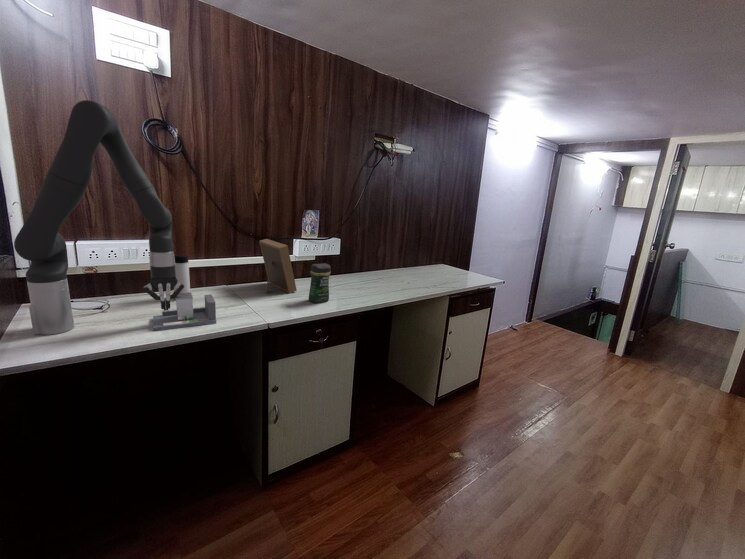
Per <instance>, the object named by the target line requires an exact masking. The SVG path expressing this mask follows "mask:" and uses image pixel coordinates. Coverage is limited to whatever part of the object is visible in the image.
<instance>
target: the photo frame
mask: <svg viewBox="0 0 745 559" xmlns="http://www.w3.org/2000/svg"><path fill="white" fill-rule="evenodd" d="M258 241H259V242H258V243H259V246H260V251H261V255H262V259H263V263H264V266H265V271H266V275H267V282H266V288H265V294H267V293H268V289H269V284H270V285H271V286H274V287H276V288H278V289H280V290H282V291H284V292H286V293H288V294H291V293H294V292H296V291H297V285H296V282H295V281H296V280H295V275H294V271H293V266H292V261H291V256H290V251H289V245H287V244H285V243H281V242H277V241H275V240H271V239H269V238H264V239H261V240H258Z"/></svg>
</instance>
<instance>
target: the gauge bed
mask: <svg viewBox="0 0 745 559" xmlns="http://www.w3.org/2000/svg"><path fill="white" fill-rule="evenodd" d="M161 313H162V314H159V315H153V316H152V331H153V332H157V331H165V330H175V329H181V328H189V327H190V326H191V327H196V326H197V327H198V326H205V325H214V323H215V324H217V318H216V315H217V311H216V300H215V299H214V297H213V295H212V294H204V307H193V319H188V320H187V321H185V320H179V321H178V317H177V309H173V310H171V309H170V310H166V311H164V310H163V311H161Z"/></svg>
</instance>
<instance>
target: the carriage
mask: <svg viewBox="0 0 745 559" xmlns="http://www.w3.org/2000/svg"><path fill="white" fill-rule="evenodd" d="M175 300H176V301H175V304H176V305H175V306H176V310H177V317H178V321H179V320H185V321H187V320H188V319H193V308H194V304H193V300H194V297H193V294H192V292H191V291H190V293H179V294H178V295H177V297H176V299H175Z"/></svg>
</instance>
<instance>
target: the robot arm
mask: <svg viewBox="0 0 745 559" xmlns="http://www.w3.org/2000/svg"><path fill="white" fill-rule="evenodd" d="M123 134H124V133H123V132H122V130H121V127H120V125H119V123H118V120H117V118H116V116H115V114H114V112H112V111H111V110H110V109H109V108H108V107H106V106H104V105H103V104H101V103H99V102H96V101H94V100H90V99H87V100H81V101H78V102H76V103H75V104H74V105H73V107H72V109H71V112H70V115H69V119H68V122H67V126H66V129H65V134H64V136H63V139H62V142H61V144H60V145H59V147H58V150H57V152H56V154H55V156H54V158H53V160H52V162H51V165H50V166H49V168H48V170H47V172H46V174H45V177H44V180H43V181H42V185H41V187H40V190H39V192H38V194H37V197H36V199H35V202H34V204H33V206H32V209H31V211H30V213H29V215H28V217H27V219H26V220H25V222H24V224H23V226H22V227H21V229H20V230H19V232H18V233H17V235H16V237H15V238H14V242H13V246H14V249H15V251H16V252H15V253H16V254H17V255H18V256H19V257H21V258H22V259H23V260H26V261H30V265H29V267H28V269H27V271H26V272H25V278H26V283H27V290H28V295H29V301H30V305H29V306H28V310H29V316H30V320H31V327H32V332H33V335H42V336H43V335H45V336H47V335H56V334H61V333H65V332H68V331H70V330H73V329H74V328H75V324H74V322H75V321H74V316H73V309H72V301H71V296H70V288H69V282H68V276H67V275H68V274H67V273H68V270H69V259H68V258H69V257H68V248H67V244H66V243H67V242H66V240H65V238H64V236H63V235H62V234H61V233H60V232H59V231H60V229H61V227H62V224H63V223H64V221H65V220H66V219H67V218H68V216H69V215H71V213H72V212H73V211H74V210H75V209H76V207H77V206H78V205H79V204H80V202H81V201H82V199H83V197H84V195H86V194H85V193H86V191H87V190H88V187H89V185H90V181H91V178H92V177H91V176H92V171H93V160H94V155H95V152H96V150H97V148H98V147H99V145H100V144H101V146H102V147H103V148H104V149H105V151H106V152H107V154H108V155H109V158H110V159H111V161H112V163H113V166H114V168H115V170H116V172H117V174H118V176H119V178H120V180H121V181H122V182H121V183H123V185H124V187H125V188H126V190H127V191H128V193H129V194H130V195H131V197H132V198H133V200H135V202H136V204H137V207H138V208H139V210H140V212H141V214H142V216H143V217H144V219H145V221H146V222H147V223H148V224H149V238H148V248H149V267H150V268H149V269H150V270H149V271H150V280H149V283H148V284H145V285H143V291H144V292H145V293H146V294H148V295H149V297H151V298H152V299H153V300H155V301H159V302H160V308H161V310H163V311H169V309H170V310H171V300H176V299H175V298H176V297H177V295H178V294H179V293H180V292H181V290H182V289H183V288H184V284H183V283H180V282H178V280H177V278H176V271H175V257H174V255H175V253H174V241H173V216H172V213H171V211H170V209H169V208H167V207H166V206H164V204H163V203H162V201H161V200H160V198H159V196H158V193H157V191H156V189H155V187H154V185H153V184H152V182H151V180H150V179H149V177H148V176H147V174H146V173H145V171H144V169H143V168H142V166H141V164H139V162H138V161H137V159H136V157H135V154H134V153H133V152H132V150H131V149H130V146H129V145H128V143H127V140H126V139H125V137H124V135H123ZM176 284H177V286H176V287H177V289H176V290H175V291H174V287H175V285H176ZM153 289H154V290H155V291H156V292H158V293H159V295H158V294H157V293H156V292H154V290H153ZM171 291H173V293H171ZM164 292H165V294H164Z"/></svg>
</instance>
